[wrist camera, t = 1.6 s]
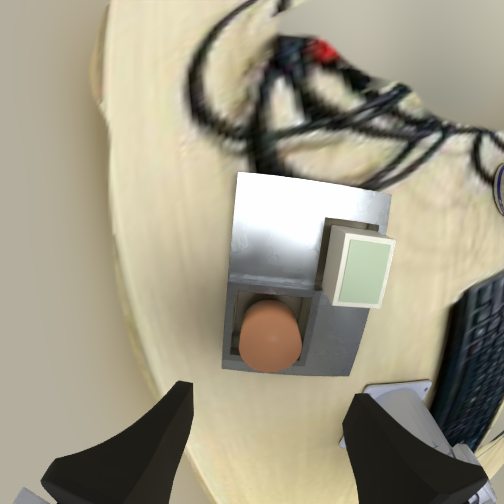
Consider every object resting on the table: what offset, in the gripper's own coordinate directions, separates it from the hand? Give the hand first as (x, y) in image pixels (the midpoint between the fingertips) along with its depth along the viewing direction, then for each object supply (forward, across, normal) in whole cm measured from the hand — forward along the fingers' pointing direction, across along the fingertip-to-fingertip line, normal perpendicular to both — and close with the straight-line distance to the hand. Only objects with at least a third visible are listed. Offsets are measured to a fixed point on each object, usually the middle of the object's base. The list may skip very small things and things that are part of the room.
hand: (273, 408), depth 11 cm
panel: (+10, -2, -2) cm, 11 cm away
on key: (+8, -4, -5) cm, 10 cm away
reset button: (+8, 0, 0) cm, 8 cm away
